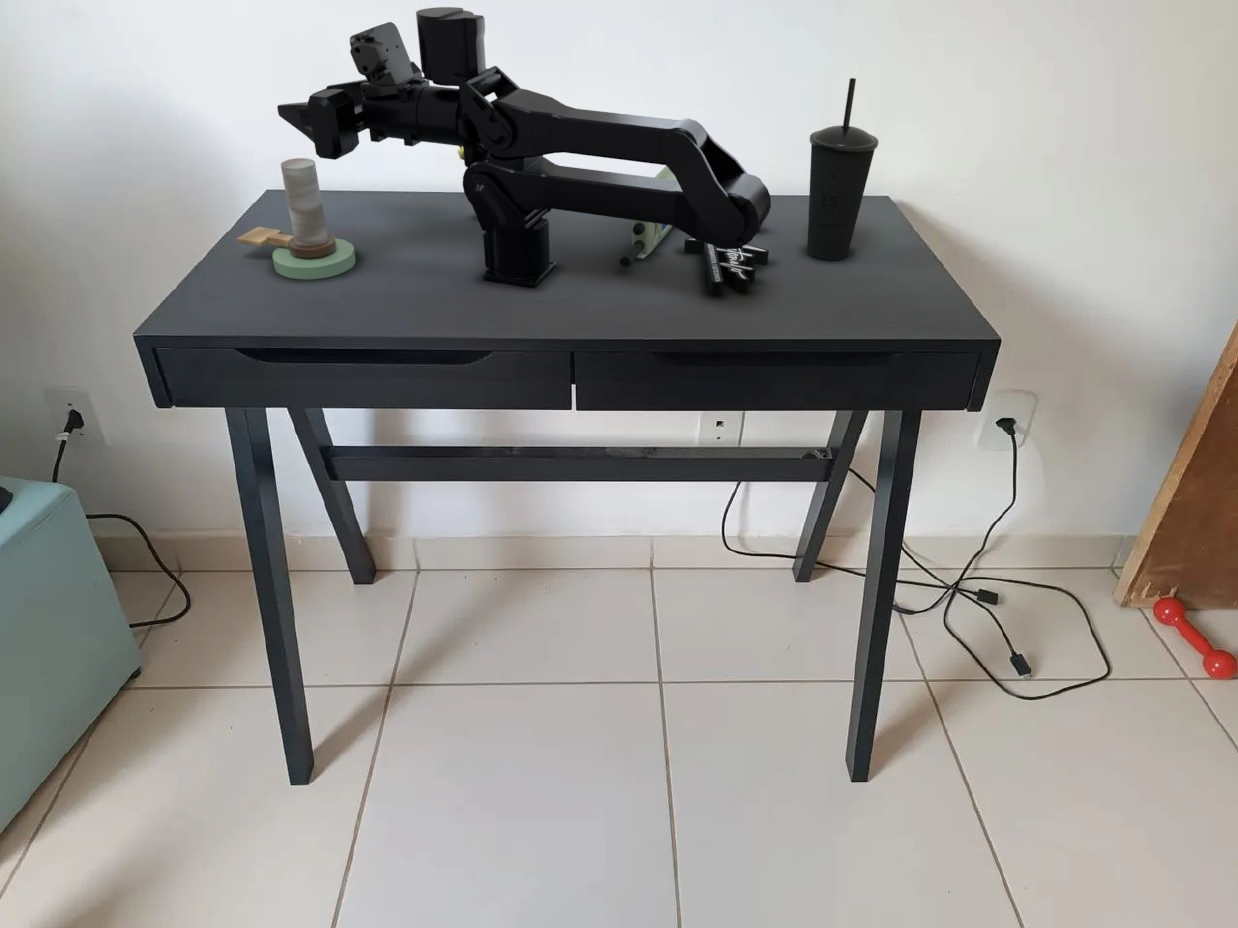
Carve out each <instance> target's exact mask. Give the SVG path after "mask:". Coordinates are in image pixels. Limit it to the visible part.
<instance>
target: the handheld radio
mask: <svg viewBox="0 0 1238 928" xmlns="http://www.w3.org/2000/svg"><path fill="white" fill-rule="evenodd" d="M654 178H662V179H670V180H677V179H676V177H675V175H674V174H673V173H672V172H671V171H670V169H669V168H668V167H667V166H666V165H664V167H663V168H662V169H661V170H660V171H659V172H658V173H657V175H655V176H654ZM630 221H631V222H630V223H631V246H630V248H629V249H627V251H625V253H624V254H623V255H622V256H621V257H620V259H619V264H620V266H622V267H623V268H628V267H630V266H631V265H632V264H633V262H634V261H635V260H636V259H640V260H644V259H645V258H647V256H649V255H650V254H652V253H653V251H654V250H655V248H656V247H657V246H658V245H659V244H660V242H662V240H663V239H664V237H665V236H666V235H667V234H668V233H669V232H670V230H671V229H672V228H673V226H671V225H666V224H659V223H651V222H644V221H637V220H630Z"/></svg>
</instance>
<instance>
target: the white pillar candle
mask: <svg viewBox="0 0 1238 928" xmlns="http://www.w3.org/2000/svg"><path fill="white" fill-rule="evenodd" d="M280 169H281V175H282V180H283V186H284V191H285V197H286V202H287V207H288V213H289V218H290V223H291V229H292V233H293V235H289V234H283V233H282V230H281V229H275V228H268V227H263V226H257V227H255V228H253V229H252V230H250V231H247V232H245V233H244V234H242V235H240V236H238V237H237V238H236V242H237V243H238V244H239V243H240V244H245V245H251V246H257V247H262V246H264V245H265V244H270V245H275V246H287V247H289V252H290V253H291V254H292V255H294V256H297V257H305V258H311V257H320V256H324V255H327V254H330V253H332V252H333V251H334V250H335V249H336V241H335V238H336V237H335V236H333V234H330V233H328V232H327V231H328V230H327V226H326V220H325V219H326V218H325V213H324V208H323V202H322V195H321V190H320V183H319V178H318V177H319V176H318V171H317V165H316V161H315V160H314V159H311V158H307V157H296V158H289V159H286V160H284V161H282V162H281V163H280Z"/></svg>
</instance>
